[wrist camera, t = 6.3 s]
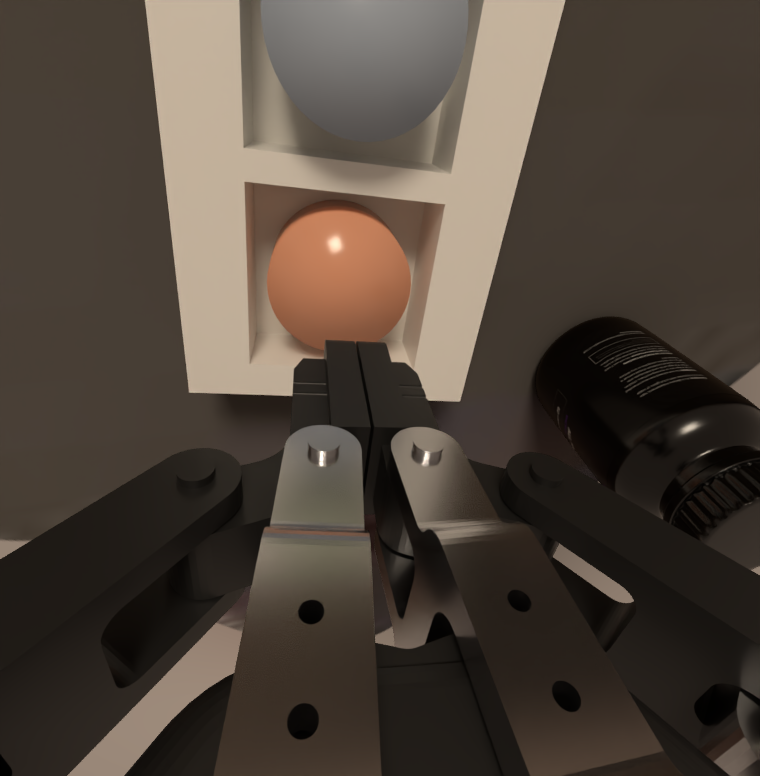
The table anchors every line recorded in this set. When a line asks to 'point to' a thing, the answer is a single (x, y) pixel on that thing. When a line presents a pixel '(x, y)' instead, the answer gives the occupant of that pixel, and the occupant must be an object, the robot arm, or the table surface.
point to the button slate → (365, 60)
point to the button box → (335, 187)
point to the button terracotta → (337, 275)
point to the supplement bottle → (658, 431)
